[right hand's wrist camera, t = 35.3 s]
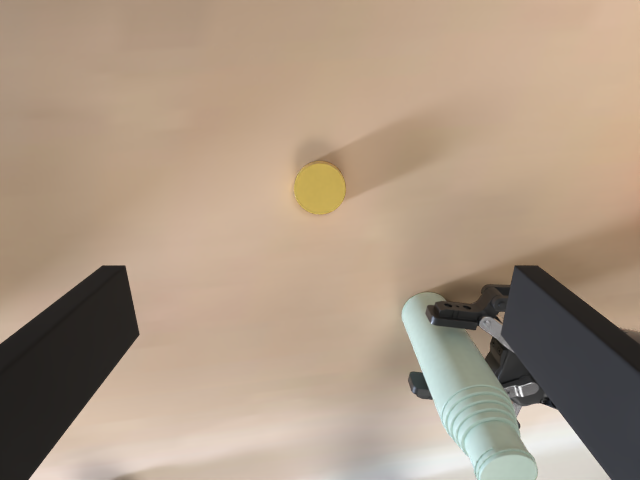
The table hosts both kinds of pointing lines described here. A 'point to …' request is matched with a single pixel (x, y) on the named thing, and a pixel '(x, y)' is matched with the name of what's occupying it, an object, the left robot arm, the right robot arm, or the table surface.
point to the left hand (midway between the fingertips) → (419, 350)
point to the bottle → (468, 396)
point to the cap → (319, 187)
